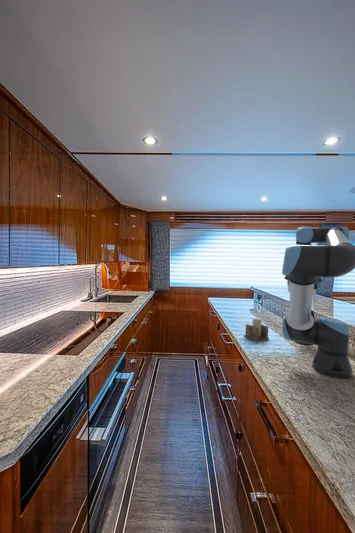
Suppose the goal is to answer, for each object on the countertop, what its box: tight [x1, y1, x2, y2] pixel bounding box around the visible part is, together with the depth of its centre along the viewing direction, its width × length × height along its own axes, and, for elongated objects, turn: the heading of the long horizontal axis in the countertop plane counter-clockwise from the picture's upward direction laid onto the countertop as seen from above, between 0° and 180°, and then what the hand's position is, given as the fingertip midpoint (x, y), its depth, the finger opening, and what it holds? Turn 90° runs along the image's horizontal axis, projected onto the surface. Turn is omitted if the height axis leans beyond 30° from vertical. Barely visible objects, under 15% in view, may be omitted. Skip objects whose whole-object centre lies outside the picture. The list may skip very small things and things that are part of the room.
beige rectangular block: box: [251, 317, 262, 337], centre depth 148 cm, size 5×5×11 cm
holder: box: [244, 323, 270, 343], centre depth 148 cm, size 10×11×8 cm
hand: (301, 293), depth 128 cm, fingers open, 13 cm apart
